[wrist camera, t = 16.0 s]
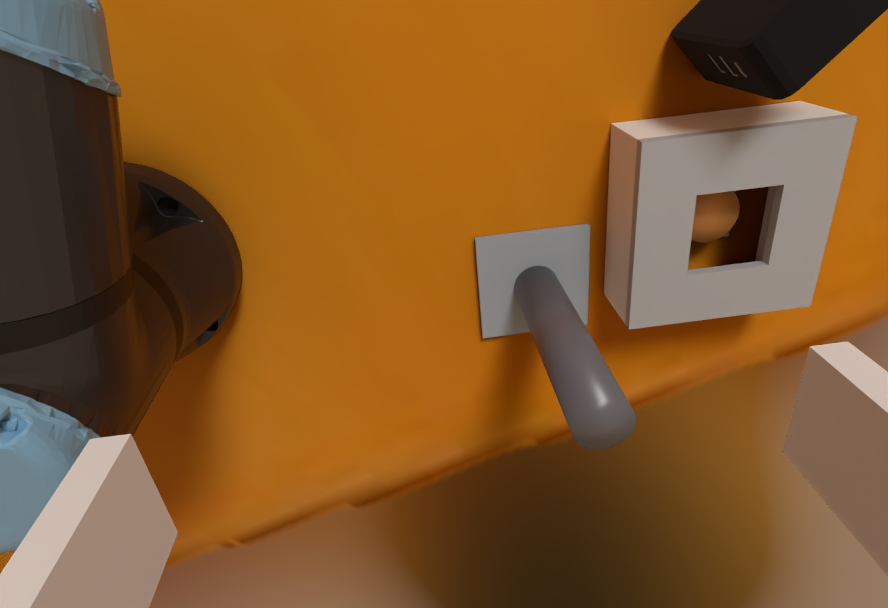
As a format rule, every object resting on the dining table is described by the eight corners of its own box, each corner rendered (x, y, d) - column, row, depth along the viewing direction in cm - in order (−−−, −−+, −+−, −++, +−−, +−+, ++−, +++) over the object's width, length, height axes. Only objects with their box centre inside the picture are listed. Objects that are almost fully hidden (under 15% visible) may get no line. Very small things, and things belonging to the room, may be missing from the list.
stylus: (514, 307, 47) (571, 453, 33) (513, 268, 46) (572, 403, 31) (557, 302, 47) (633, 445, 33) (558, 263, 46) (638, 395, 31)
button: (667, 236, 46) (678, 245, 44) (672, 182, 43) (684, 190, 42) (721, 229, 46) (734, 238, 44) (729, 175, 43) (743, 182, 42)
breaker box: (603, 293, 48) (628, 329, 43) (611, 123, 41) (642, 142, 36) (766, 273, 48) (810, 306, 43) (800, 100, 42) (857, 116, 37)
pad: (481, 334, 49) (482, 338, 49) (474, 237, 45) (475, 240, 44) (585, 321, 49) (587, 324, 49) (587, 223, 45) (590, 226, 44)
